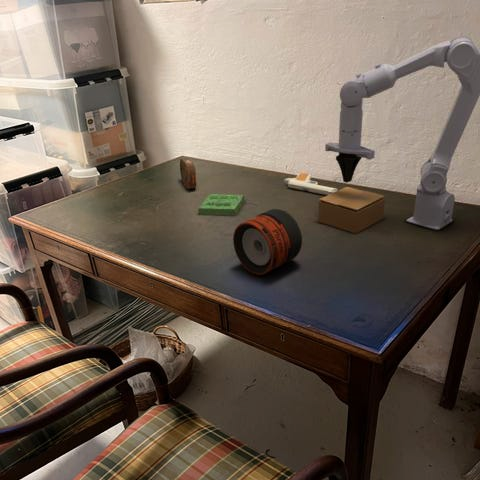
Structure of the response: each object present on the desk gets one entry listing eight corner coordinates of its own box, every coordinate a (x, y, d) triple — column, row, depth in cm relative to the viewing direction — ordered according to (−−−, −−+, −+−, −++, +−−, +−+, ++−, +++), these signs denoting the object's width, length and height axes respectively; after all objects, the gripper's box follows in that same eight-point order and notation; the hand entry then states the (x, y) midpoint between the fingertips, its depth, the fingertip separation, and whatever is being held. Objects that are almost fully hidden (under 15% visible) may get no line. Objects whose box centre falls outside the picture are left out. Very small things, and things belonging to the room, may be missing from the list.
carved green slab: (199, 214, 154) (198, 206, 153) (210, 200, 164) (209, 192, 162) (235, 215, 151) (234, 207, 150) (244, 200, 161) (243, 193, 160)
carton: (318, 221, 144) (318, 199, 140) (345, 208, 151) (347, 186, 147) (355, 233, 136) (357, 209, 132) (383, 218, 143) (385, 195, 139)
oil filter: (234, 266, 124) (230, 216, 117) (268, 248, 131) (266, 200, 124) (273, 282, 116) (272, 229, 109) (307, 263, 123) (308, 212, 116)
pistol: (350, 187, 166) (332, 198, 158) (298, 177, 176) (279, 187, 169) (350, 180, 164) (332, 190, 157) (298, 170, 175) (279, 180, 168)
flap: (319, 200, 140) (319, 199, 140) (347, 187, 147) (347, 186, 147) (337, 205, 136) (337, 204, 136) (365, 192, 143) (365, 191, 143)
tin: (180, 179, 183) (177, 155, 178) (189, 178, 183) (186, 154, 179) (189, 192, 171) (186, 167, 166) (198, 191, 171) (196, 166, 167)
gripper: (383, 130, 130) (378, 182, 137) (337, 123, 139) (335, 172, 146) (367, 136, 126) (363, 189, 133) (320, 128, 135) (319, 179, 142)
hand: (347, 181), depth 140 cm, fingers closed
